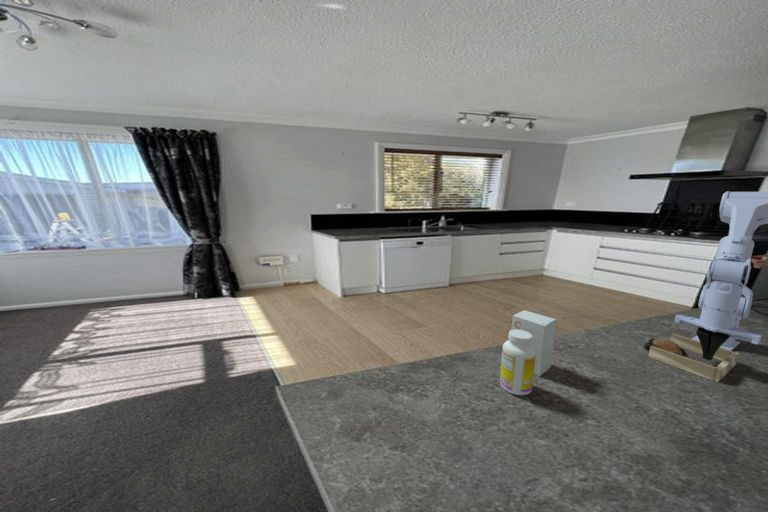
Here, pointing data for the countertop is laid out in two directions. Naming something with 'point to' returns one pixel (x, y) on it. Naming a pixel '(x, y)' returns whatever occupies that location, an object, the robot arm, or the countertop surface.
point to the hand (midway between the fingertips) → (707, 358)
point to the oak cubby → (693, 365)
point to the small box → (538, 337)
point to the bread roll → (664, 346)
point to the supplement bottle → (518, 363)
